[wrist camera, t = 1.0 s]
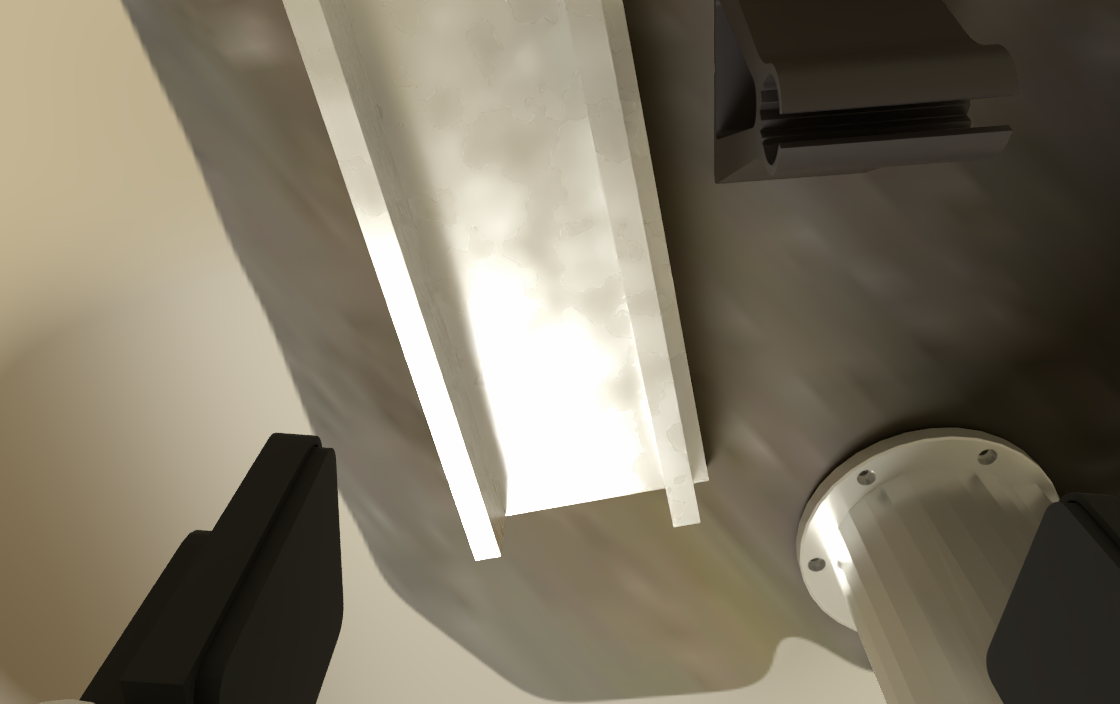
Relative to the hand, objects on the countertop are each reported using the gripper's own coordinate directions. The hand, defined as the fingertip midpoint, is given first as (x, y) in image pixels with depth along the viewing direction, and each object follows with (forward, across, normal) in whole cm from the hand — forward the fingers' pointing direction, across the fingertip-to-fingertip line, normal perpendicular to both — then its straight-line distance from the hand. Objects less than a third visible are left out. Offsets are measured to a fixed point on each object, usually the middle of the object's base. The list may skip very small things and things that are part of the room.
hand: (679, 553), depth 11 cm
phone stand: (+26, -7, -4) cm, 27 cm away
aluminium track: (+25, +4, +4) cm, 26 cm away
